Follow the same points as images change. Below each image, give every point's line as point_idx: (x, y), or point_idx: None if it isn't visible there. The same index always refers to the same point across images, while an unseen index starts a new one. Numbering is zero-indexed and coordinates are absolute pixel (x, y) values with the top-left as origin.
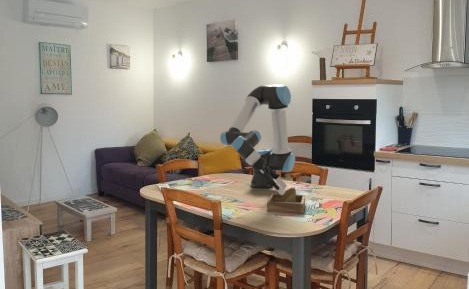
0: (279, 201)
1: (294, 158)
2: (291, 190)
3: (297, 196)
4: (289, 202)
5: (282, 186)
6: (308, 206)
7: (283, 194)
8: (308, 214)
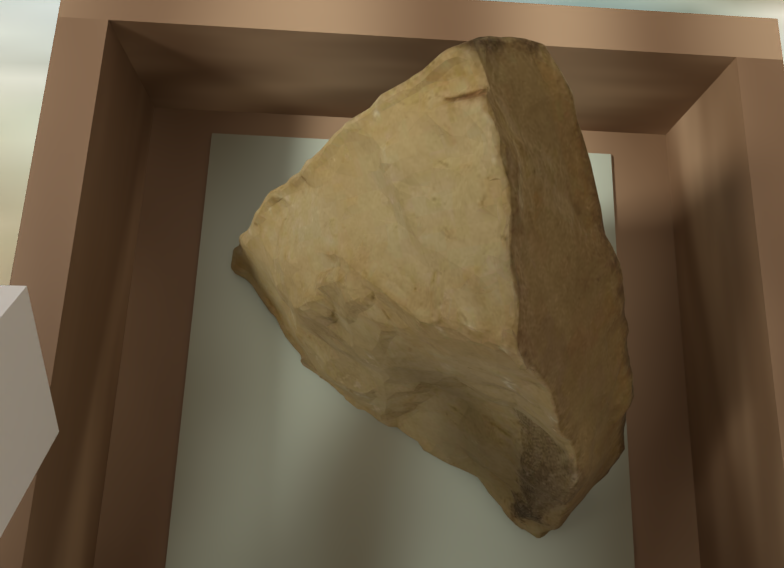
0: (93, 547)
1: None
2: (543, 155)
3: (100, 136)
4: (776, 274)
5: (12, 475)
6: None
7: None
8: None
